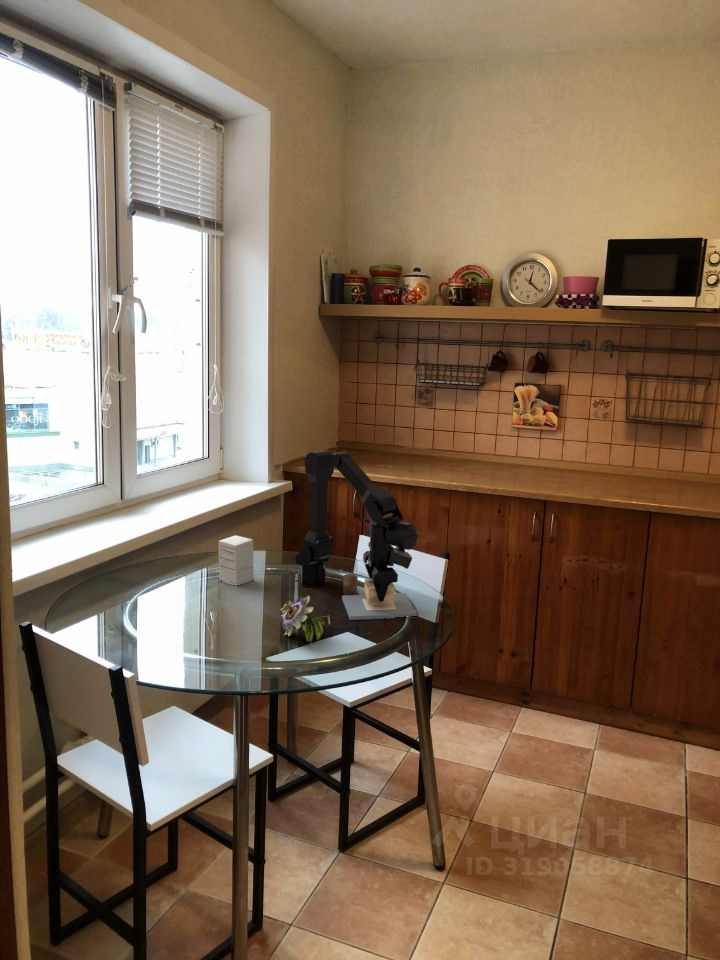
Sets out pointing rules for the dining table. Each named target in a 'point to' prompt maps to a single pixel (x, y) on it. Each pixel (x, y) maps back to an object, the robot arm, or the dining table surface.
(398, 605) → the grey rectangular plate
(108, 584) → the dining table surface
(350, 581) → the walnut peg
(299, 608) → the passion flower
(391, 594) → the oak socket block
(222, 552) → the supplement box
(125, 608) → the dining table surface
